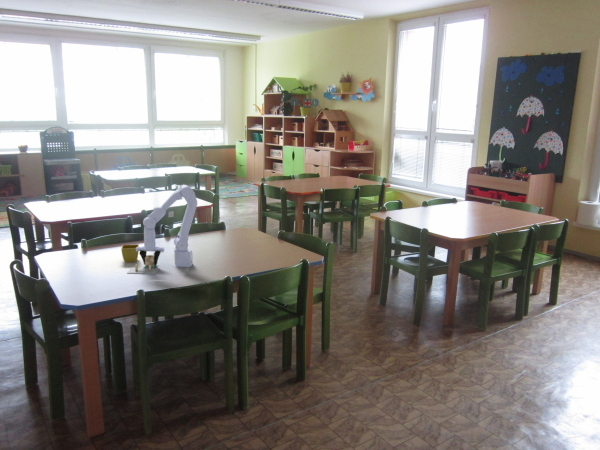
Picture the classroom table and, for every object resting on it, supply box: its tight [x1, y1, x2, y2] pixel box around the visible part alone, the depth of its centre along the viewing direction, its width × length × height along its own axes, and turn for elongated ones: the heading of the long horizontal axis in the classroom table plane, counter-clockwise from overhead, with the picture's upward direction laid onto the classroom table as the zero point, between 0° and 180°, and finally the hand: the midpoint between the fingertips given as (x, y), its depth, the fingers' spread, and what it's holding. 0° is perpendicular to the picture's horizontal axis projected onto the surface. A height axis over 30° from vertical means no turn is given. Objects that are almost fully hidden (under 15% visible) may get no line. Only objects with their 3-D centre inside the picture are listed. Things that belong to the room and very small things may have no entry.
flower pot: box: [120, 243, 140, 264], centre depth 268 cm, size 9×9×9 cm
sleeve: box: [144, 254, 156, 268], centre depth 259 cm, size 4×4×6 cm
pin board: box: [127, 264, 160, 275], centre depth 251 cm, size 14×8×4 cm, turn 90°
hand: (150, 264), depth 259 cm, fingers open, 5 cm apart
